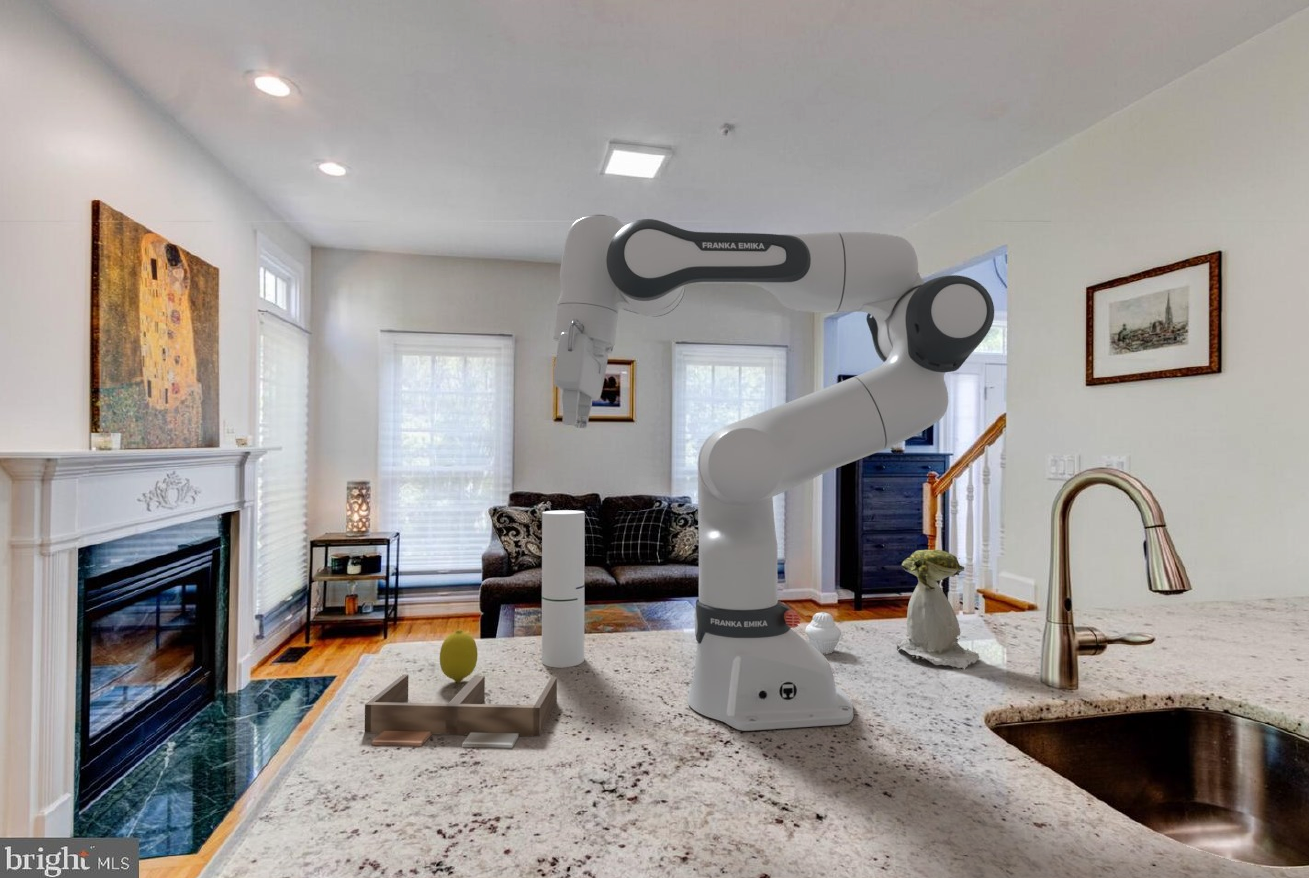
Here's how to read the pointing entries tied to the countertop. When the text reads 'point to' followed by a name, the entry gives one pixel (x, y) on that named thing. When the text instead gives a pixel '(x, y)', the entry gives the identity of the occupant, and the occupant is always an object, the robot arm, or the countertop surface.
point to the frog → (934, 611)
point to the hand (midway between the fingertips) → (575, 426)
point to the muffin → (823, 632)
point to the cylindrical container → (563, 587)
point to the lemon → (458, 655)
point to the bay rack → (455, 716)
